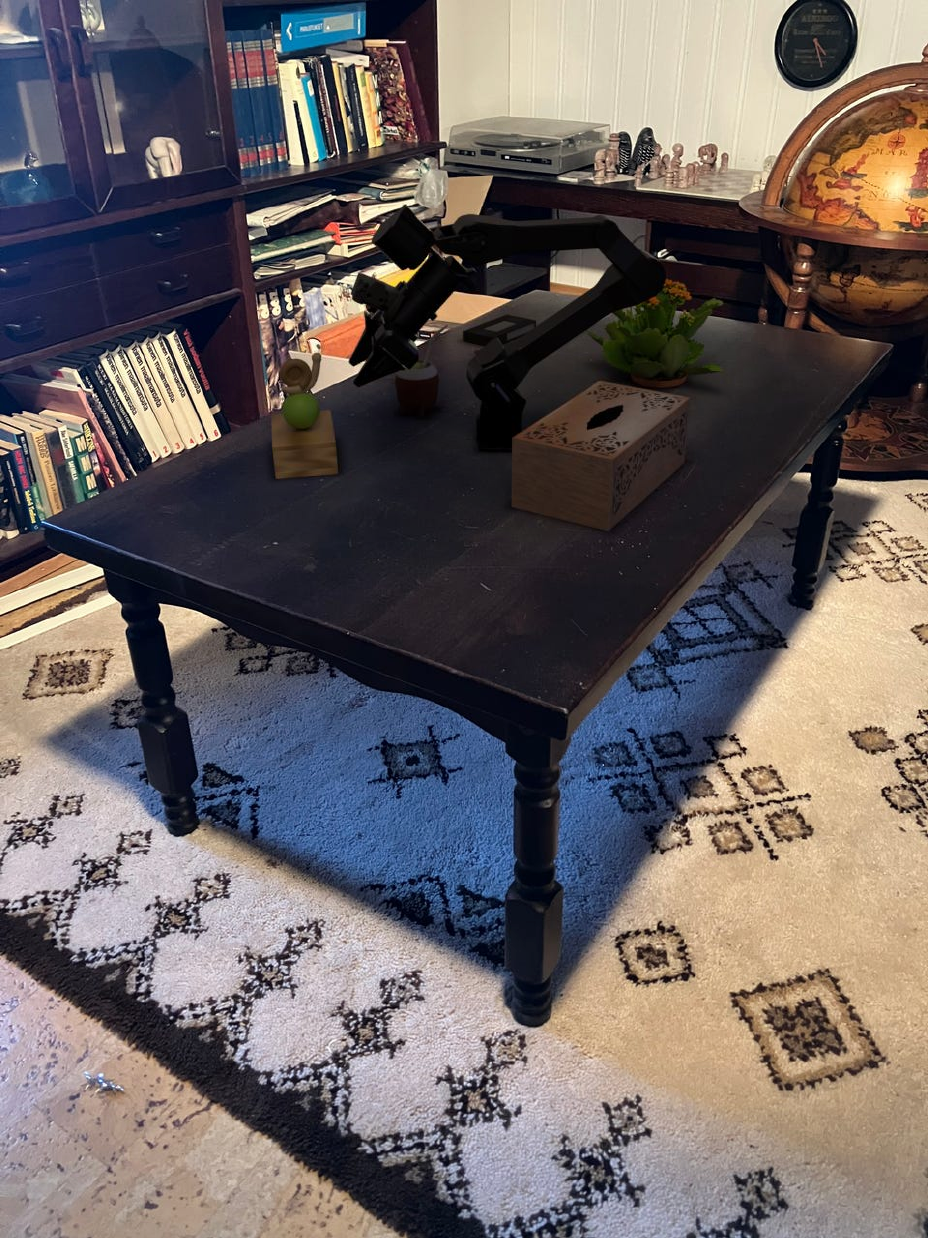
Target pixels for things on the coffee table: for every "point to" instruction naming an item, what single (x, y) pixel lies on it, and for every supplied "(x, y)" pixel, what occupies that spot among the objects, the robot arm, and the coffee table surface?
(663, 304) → the potted flower
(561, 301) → the coffee table surface
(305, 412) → the snail figurine
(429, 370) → the mate gourd
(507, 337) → the vhs tape
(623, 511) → the tissue box cover
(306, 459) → the tan rectangular block
